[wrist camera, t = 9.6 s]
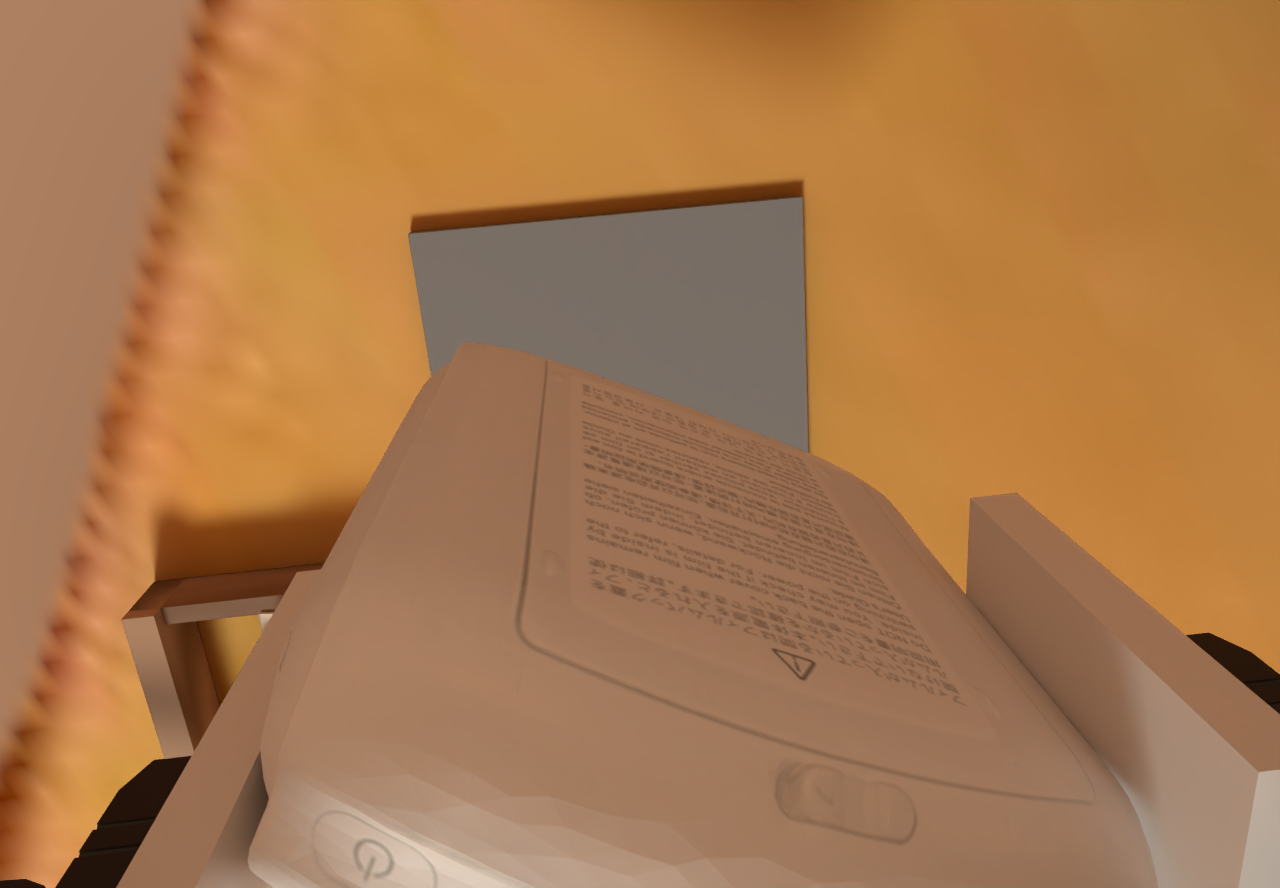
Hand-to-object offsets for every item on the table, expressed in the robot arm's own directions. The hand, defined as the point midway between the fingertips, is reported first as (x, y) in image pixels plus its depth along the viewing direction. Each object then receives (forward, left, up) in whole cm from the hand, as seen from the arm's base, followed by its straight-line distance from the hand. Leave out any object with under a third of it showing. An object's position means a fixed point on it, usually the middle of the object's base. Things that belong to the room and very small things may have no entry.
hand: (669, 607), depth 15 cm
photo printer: (0, 0, -5) cm, 5 cm away
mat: (0, 0, -16) cm, 16 cm away
